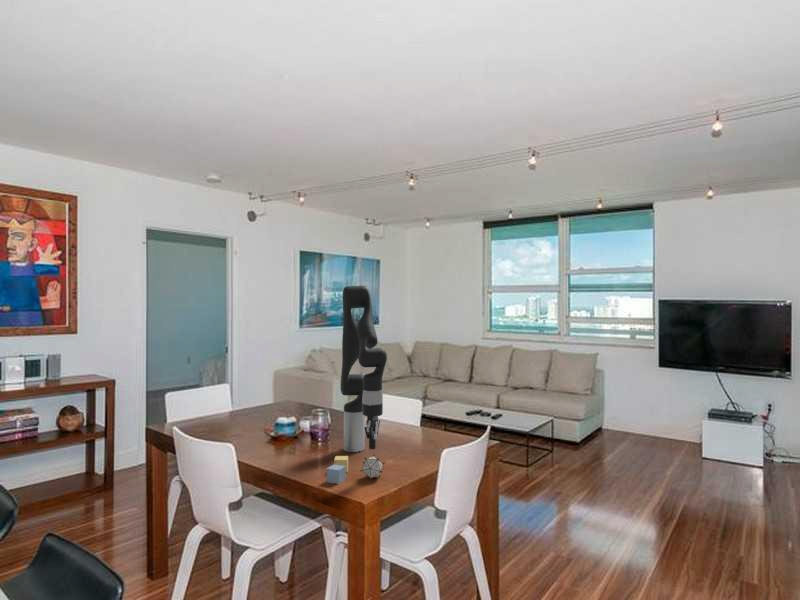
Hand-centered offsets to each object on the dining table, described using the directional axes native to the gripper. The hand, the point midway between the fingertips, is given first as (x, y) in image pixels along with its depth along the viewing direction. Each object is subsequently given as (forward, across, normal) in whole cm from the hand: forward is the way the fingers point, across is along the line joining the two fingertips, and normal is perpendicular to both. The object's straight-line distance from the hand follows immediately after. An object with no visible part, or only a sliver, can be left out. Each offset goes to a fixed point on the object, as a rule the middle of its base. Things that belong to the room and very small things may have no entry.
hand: (372, 448), depth 183 cm
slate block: (+11, +6, -12) cm, 17 cm away
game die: (+11, 0, 0) cm, 11 cm away
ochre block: (+11, -5, -14) cm, 18 cm away
